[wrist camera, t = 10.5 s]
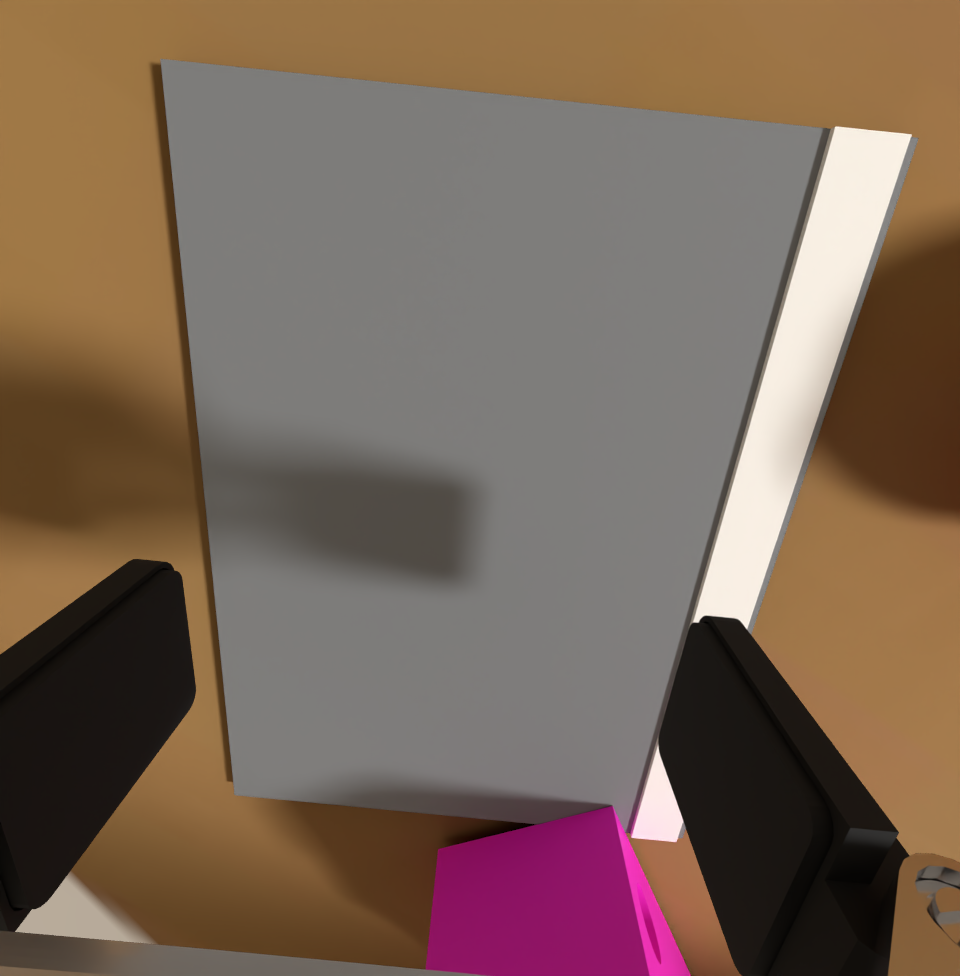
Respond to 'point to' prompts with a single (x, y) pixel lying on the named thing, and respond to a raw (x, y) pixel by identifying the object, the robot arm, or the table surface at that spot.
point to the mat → (497, 419)
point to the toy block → (549, 905)
